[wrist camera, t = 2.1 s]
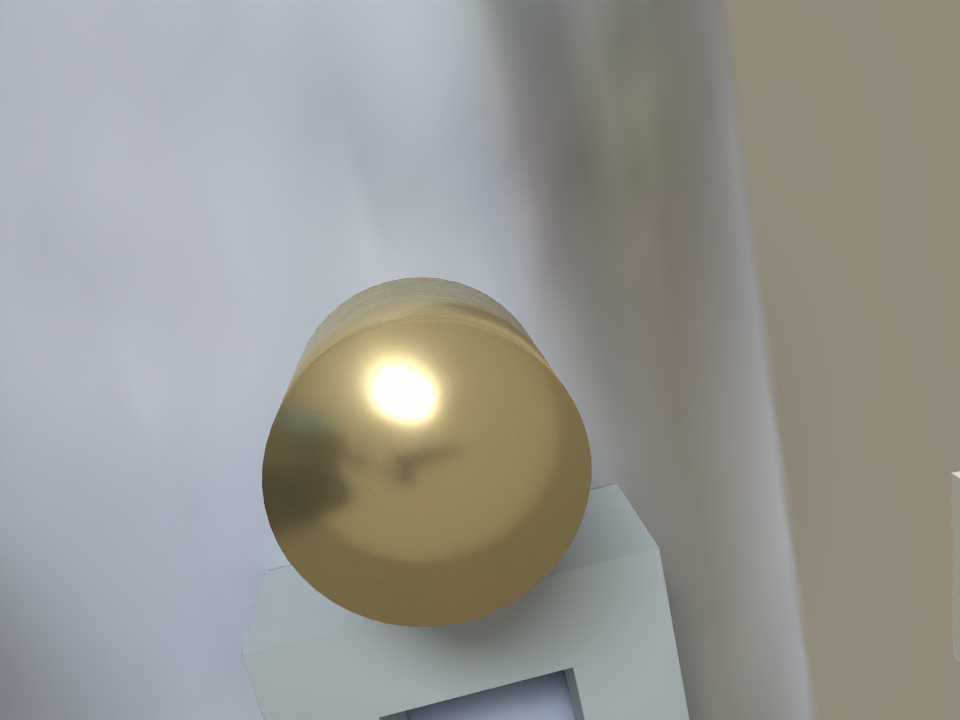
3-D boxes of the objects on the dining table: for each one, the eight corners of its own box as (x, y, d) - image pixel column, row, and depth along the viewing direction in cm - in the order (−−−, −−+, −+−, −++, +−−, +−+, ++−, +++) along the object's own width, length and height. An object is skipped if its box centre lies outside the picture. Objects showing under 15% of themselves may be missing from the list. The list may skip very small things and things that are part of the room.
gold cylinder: (434, 485, 27) (458, 679, 17) (270, 372, 25) (194, 516, 16) (558, 333, 26) (656, 449, 16) (395, 207, 24) (397, 252, 15)
